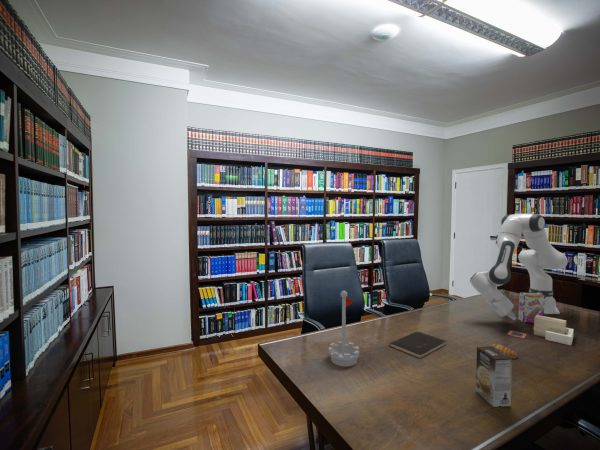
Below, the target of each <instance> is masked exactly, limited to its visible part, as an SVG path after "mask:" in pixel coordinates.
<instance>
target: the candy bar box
mask: <svg viewBox="0 0 600 450" xmlns="http://www.w3.org/2000/svg"><path fill="white" fill-rule="evenodd" d="M518 296H519V297H518V317H517V319H518V321H520V322H521V323H525V324H527V323H528V324H529V323H530V324H531V323H532V324H534V317H535V316H536V315H539V316H545V314H544V299H545V295H542V294H539V293H529V292H519V295H518Z"/></svg>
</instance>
